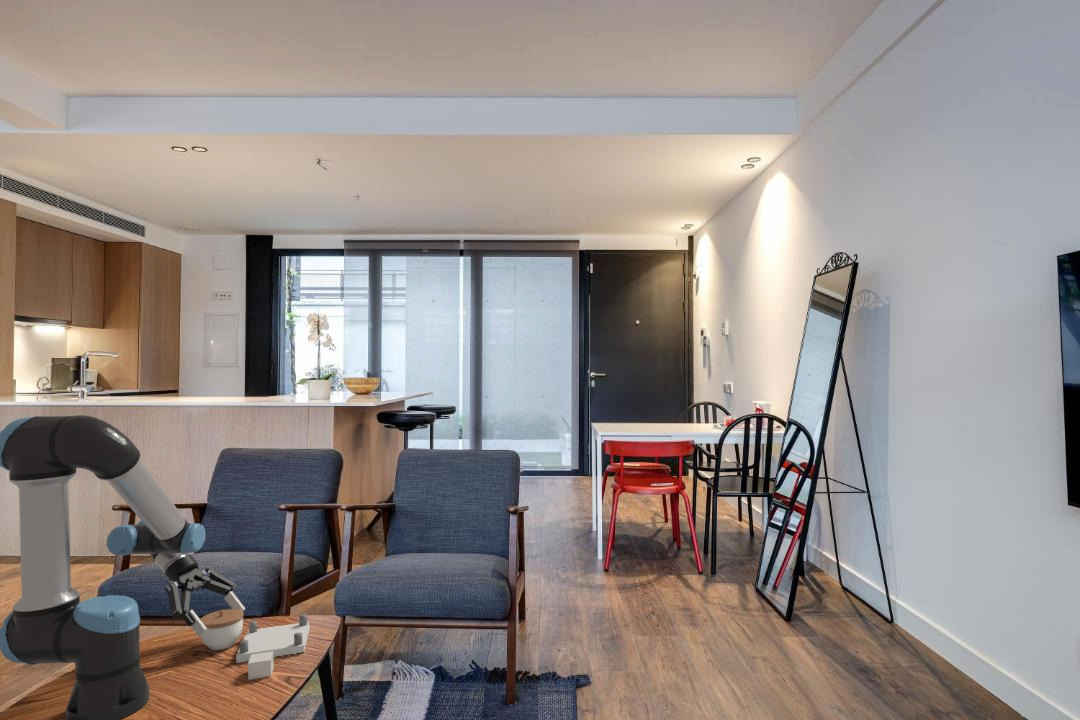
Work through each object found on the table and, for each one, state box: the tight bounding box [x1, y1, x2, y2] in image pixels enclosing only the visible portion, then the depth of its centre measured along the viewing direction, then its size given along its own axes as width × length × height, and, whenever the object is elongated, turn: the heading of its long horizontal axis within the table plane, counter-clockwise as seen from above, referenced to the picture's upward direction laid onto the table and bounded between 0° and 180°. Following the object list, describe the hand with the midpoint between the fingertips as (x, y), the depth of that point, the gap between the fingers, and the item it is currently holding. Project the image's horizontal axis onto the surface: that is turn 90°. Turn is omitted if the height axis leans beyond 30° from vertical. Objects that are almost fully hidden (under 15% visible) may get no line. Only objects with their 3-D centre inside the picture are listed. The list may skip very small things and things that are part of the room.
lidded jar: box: [199, 608, 244, 651], centre depth 165 cm, size 11×11×9 cm
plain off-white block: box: [247, 651, 275, 681], centre depth 149 cm, size 5×5×4 cm
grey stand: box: [235, 613, 311, 664], centre depth 164 cm, size 16×16×4 cm
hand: (223, 622), depth 166 cm, fingers open, 13 cm apart
